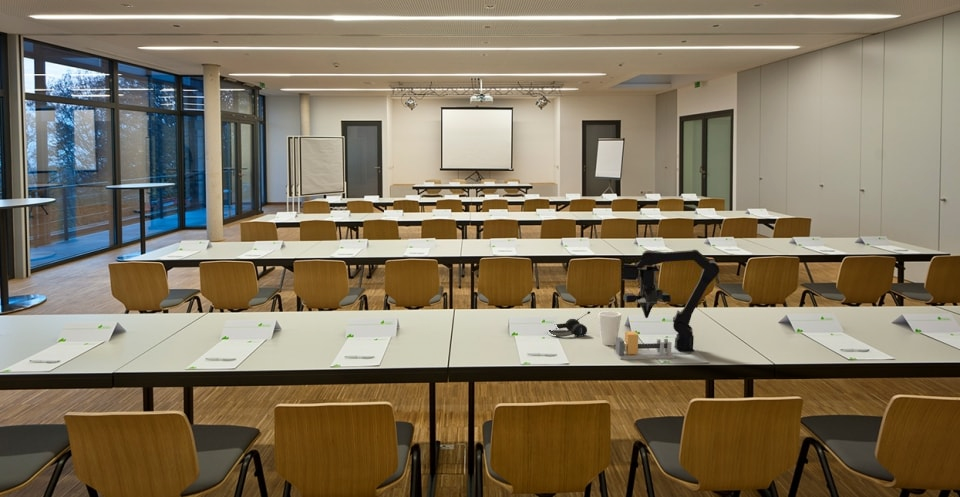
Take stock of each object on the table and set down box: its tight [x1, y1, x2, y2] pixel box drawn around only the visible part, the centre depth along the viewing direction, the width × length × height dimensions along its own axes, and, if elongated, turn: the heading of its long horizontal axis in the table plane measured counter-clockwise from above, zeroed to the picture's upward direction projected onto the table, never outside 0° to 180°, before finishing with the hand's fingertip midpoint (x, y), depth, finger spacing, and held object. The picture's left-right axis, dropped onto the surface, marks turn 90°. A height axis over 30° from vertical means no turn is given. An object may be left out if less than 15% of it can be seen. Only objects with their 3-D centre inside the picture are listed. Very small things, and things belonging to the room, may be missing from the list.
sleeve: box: [624, 330, 639, 354], centre depth 290 cm, size 4×5×8 cm
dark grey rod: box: [624, 341, 668, 351], centre depth 290 cm, size 21×3×3 cm, turn 93°
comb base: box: [613, 336, 676, 360], centre depth 291 cm, size 22×10×7 cm, turn 93°
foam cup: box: [598, 310, 622, 346], centre depth 307 cm, size 10×9×13 cm
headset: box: [549, 310, 591, 338], centre depth 324 cm, size 14×10×20 cm
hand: (646, 317), depth 301 cm, fingers closed
